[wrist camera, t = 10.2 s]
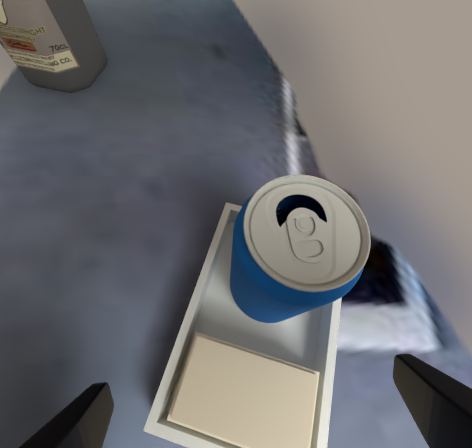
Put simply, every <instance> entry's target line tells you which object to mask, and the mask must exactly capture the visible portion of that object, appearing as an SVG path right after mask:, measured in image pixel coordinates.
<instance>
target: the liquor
mask: <svg viewBox="0 0 472 448" xmlns="http://www.w3.org/2000/svg"><path fill="white" fill-rule="evenodd" d="M0 43H1V45H2V46H3V48H4V49H5V50H6V51H7V53H8V54H9V56H10V57H11V58H12V60H13V61H14V62H15V64H16V65H17V66H18V68H19V69H20V70H21V72H22V73H23V74H24V76H25V77H26V78H27V79H28V81H30V82H31V83H33V84H35V85H36V86H40V87H45V88H50V89H54V90H59V91H64V92H69V93H72V92H75V91H78V90H81V89H84V88H87V87H90V86H91V84H92V83H93V82H94V81H95V79H96V78H97V77H98V75H99V74H100V73H101V72H102V70H103V69H104V68H105V66H106V62H107V57H106V55H105V53H104V50H103V48H102V46H101V43H100V41H99V38H98V36H97V34H96V31H95V29H94V26H93V24H92V22H91V19H90V17H89V15H88V12H87V10H86V7H85V5H84V3H83V0H0Z"/></svg>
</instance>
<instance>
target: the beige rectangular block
mask: <svg viewBox="0 0 472 448" xmlns="http://www.w3.org/2000/svg"><path fill="white" fill-rule="evenodd" d="M319 373H320V372H317V371H314V370H311V369H308V368H305V367H302V366H299V365H296V364H293V363H290V362H286V361H283V360H280V359H277V358H274V357H271V356H268V355H265V354H262V353H259V352H256V351H253V350H250V349H247V348H244V347H241V346H237V345H234V344H231V343H228V342H225V341H222V340H219V339H216V338H213V337H210V336H207V335H204V334H201V333H198V332H196V334H195V337H194V340H193V343H192V346H191V349H190V352H189V355H188V358H187V361H186V364H185V367H184V370H183V373H182V376H181V379H180V382H179V385H178V388H177V391H176V394H175V397H174V400H173V403H172V406H171V409H170V412H169V415H168V418H167V420H168V421H171V422H173V423H176V424H179V425H182V426H184V427H187V428H190V429H193V430H195V431H198V432H201V433H204V434H206V435H209V436H212V437H214V438H217V439H220V440H223V441H225V442H228V443H231V444H234V445H236V446H239V447H242V448H310V447H311V439H312V431H313V422H314V414H315V406H316V397H317V389H318V381H319Z"/></svg>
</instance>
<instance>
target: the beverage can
mask: <svg viewBox="0 0 472 448" xmlns="http://www.w3.org/2000/svg"><path fill="white" fill-rule="evenodd" d="M370 244H371V243H370V231H369V227H368V224H367V221H366V218H365V216H364V214H363V212H362V211H361V209H360V207H359V206H358V205H357V203H356V202H355V201H354V200H353V199H352V198H351V197H350V196H349V195H348V194H347V193H346V192H345V191H343V190H342V189H341V188H339V187H338V186H336V185H334V184H332V183H331V182H328V181H326V180H324V179H321V178H317V177H314V176H308V175H288V176H283V177H279V178H276V179H274V180H272V181H270V182H268V183H266V184H265V185H263V186H262V187H261V188H260V189H259V190H258V191H257V192H256V193H255V194H254V195H253V196H251V197H250V198H249V199H248V200H247V201H246V203H245V204H244V205H243V206H242V208H241V210H240V211H239V213H238V215H237V218H236V220H235V224H234V228H233V240H232V255H231V270H230V290H231V294H232V297H233V299H234V301H235V303H236V304H237V306H238V307H239V308H240V310H241V311H242V312H243V313H244V314H246V315H247V316H248V317H250V318H252V319H254V320H256V321H259V322H263V323H277V322H281V321H284V320H286V319H289V318H292V317H294V316H297V315H300V314H302V313H305V312H308V311H310V310H313V309H315V308H318V307H321V306H323V305H326V304H329V303H331V302H334V301H336V300H337V299H339V298H341V297H342V296H344V295H345V294H346V293H348V292H349V291H350V290H351V289H352V288H353V286H354V285H355V284H356V282H357V281H358V279H359V278H360V275H361V273H362V271H363V268H364V265H365V263H366V261H367V259H368V255H369V252H370Z"/></svg>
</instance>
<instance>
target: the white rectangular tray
mask: <svg viewBox="0 0 472 448" xmlns="http://www.w3.org/2000/svg"><path fill="white" fill-rule="evenodd" d="M241 208H242V206H239V205H235V204H231V203H228V202H226V204H225V207H224V210H223V212H222V215H221V218H220V221H219V223H218V226H217V229H216V232H215V234H214V237H213V240H212V243H211V245H210V248H209V251H208V254H207V256H206V259H205V262H204V265H203V268H202V270H201V273H200V276H199V279H198V281H197V284H196V287H195V290H194V292H193V295H192V298H191V301H190V303H189V306H188V309H187V312H186V314H185V317H184V320H183V323H182V325H181V328H180V331H179V334H178V336H177V339H176V342H175V345H174V347H173V350H172V353H171V356H170V358H169V361H168V364H167V367H166V370H165V372H164V375H163V378H162V381H161V383H160V386H159V389H158V392H157V394H156V397H155V400H154V403H153V405H152V408H151V411H150V414H149V416H148V419H147V422H146V425H145V427H144V430H143V431H144V432H147V433H150V434H152V435H155V436H158V437H161V438H163V439H166V440H169V441H171V442H174V443H177V444H179V445H182V446H185V447H187V448H242V447H239V446H236V445H234V444H231V443H228V442H225V441H223V440H220V439H217V438H214V437H212V436H209V435H206V434H204V433H201V432H198V431H195V430H193V429H190V428H187V427H184V426H182V425H179V424H176V423H173V422H171V421H168V420H167V418H168V415H169V412H170V409H171V406H172V403H173V400H174V397H175V394H176V391H177V388H178V385H179V382H180V379H181V376H182V373H183V370H184V367H185V364H186V361H187V358H188V355H189V352H190V349H191V346H192V343H193V340H194V337H195V334H196V332H198V333H201V334H204V335H207V336H210V337H213V338H216V339H219V340H222V341H225V342H228V343H231V344H234V345H237V346H241V347H244V348H247V349H250V350H253V351H256V352H259V353H262V354H265V355H268V356H271V357H274V358H277V359H280V360H283V361H286V362H290V363H293V364H296V365H299V366H302V367H305V368H308V369H311V370H314V371H317V372H320V373H319V381H318V389H317V397H316V406H315V414H314V422H313V431H312V439H311V447H310V448H327V442H328V432H329V421H330V411H331V401H332V391H333V380H334V370H335V360H336V350H337V339H338V329H339V319H340V309H341V299H342V297H341V298H339V299H337V300H336V301H334V302H331V303H329V304H326V305H323V306H321V307H318V308H315V309H313V310H310V311H308V312H305V313H302V314H300V315H297V316H294V317H292V318H289V319H286V320H284V321H281V322H277V323H263V322H259V321H256V320H254V319H252V318H250V317H248V316H247V315H246V314H244V313H243V312H242V311H241V310H240V308H239V307H238V306H237V304H236V303H235V301H234V299H233V297H232V294H231V290H230V270H231V255H232V240H233V228H234V224H235V220H236V218H237V215H238V213H239V211H240V210H241Z"/></svg>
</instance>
